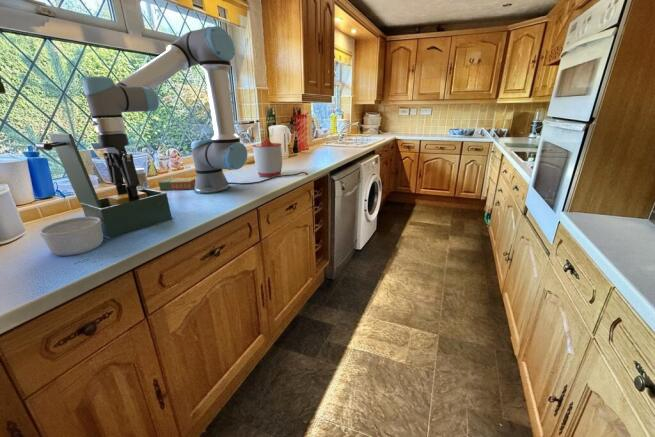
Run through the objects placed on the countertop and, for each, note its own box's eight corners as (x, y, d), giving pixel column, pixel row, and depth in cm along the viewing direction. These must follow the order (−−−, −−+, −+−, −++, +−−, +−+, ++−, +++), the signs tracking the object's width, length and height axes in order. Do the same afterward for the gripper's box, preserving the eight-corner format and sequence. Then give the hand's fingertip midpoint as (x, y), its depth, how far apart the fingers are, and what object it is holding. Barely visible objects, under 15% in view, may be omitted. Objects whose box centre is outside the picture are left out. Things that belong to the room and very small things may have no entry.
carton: (192, 189, 144) (190, 180, 143) (159, 190, 145) (157, 181, 143) (199, 185, 152) (198, 176, 151) (168, 186, 153) (166, 177, 151)
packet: (139, 202, 104) (137, 190, 103) (149, 204, 101) (146, 192, 100) (111, 209, 97) (107, 197, 96) (120, 211, 94) (117, 199, 93)
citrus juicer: (268, 171, 181) (264, 137, 174) (289, 174, 171) (286, 137, 164) (247, 176, 169) (243, 139, 162) (269, 179, 159) (266, 140, 152)
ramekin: (113, 245, 85) (106, 222, 83) (52, 263, 76) (42, 238, 73) (100, 234, 93) (94, 213, 91) (44, 249, 84) (35, 226, 82)
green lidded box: (151, 213, 112) (145, 188, 109) (172, 218, 105) (166, 192, 102) (90, 231, 96) (80, 203, 93) (110, 239, 90) (100, 209, 86)
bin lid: (52, 133, 85) (26, 136, 81) (71, 133, 78) (44, 137, 74) (81, 201, 93) (60, 207, 89) (101, 207, 86) (79, 214, 82)
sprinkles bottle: (147, 201, 127) (139, 169, 123) (137, 201, 128) (129, 169, 123) (154, 198, 132) (146, 167, 127) (144, 198, 132) (136, 167, 127)
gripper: (83, 133, 93) (104, 205, 101) (113, 134, 83) (134, 213, 91) (110, 131, 99) (128, 199, 107) (140, 132, 89) (158, 206, 97)
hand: (130, 205), depth 99 cm, fingers closed on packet, 6 cm apart
